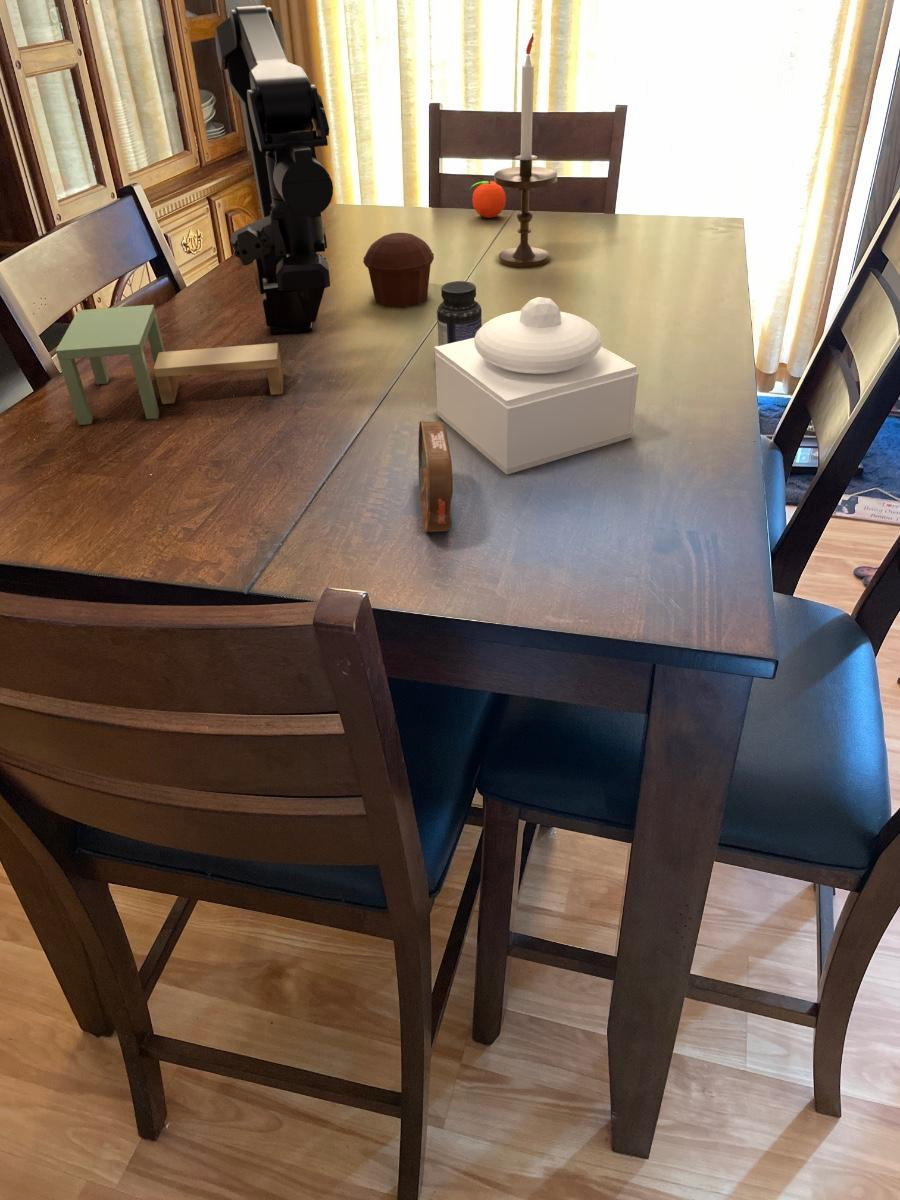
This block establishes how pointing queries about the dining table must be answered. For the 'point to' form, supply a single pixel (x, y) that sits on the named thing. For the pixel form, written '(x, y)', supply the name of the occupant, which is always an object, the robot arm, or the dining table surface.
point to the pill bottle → (458, 313)
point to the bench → (217, 365)
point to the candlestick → (525, 178)
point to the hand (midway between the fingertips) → (311, 321)
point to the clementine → (488, 199)
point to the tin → (435, 476)
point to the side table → (110, 351)
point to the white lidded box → (535, 388)
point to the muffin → (399, 269)
